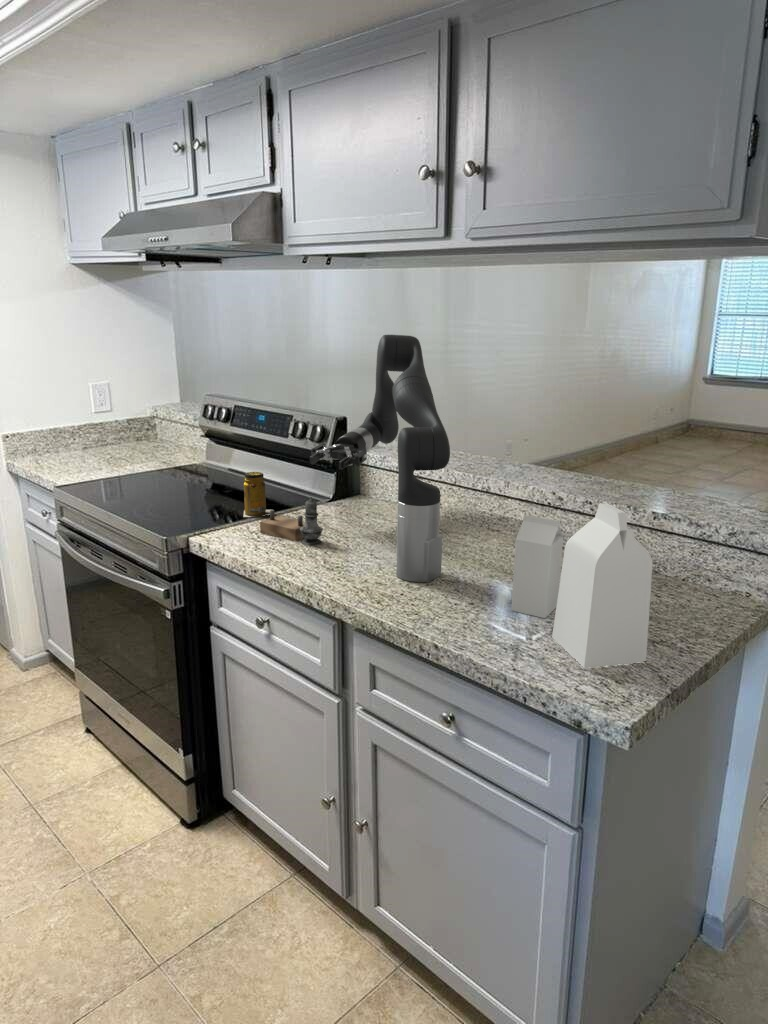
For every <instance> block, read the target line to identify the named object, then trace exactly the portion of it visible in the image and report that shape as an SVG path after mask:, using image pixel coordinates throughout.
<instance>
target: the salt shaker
mask: <svg viewBox="0 0 768 1024" xmlns="http://www.w3.org/2000/svg"><path fill="white" fill-rule="evenodd" d="M304 505H305V508H304V509H305V513H303V515H304V522H305V526H303V527H301V528H300V531H301V534H302V536H303V537H304V539H302V540H301V541H300V543H301V545H304V546H318V545H321V544H322V543H323V542H322V540H321V539H320V537H321V535H322V532H323V530H324V528H323V527H322V526H320V525H319V523H318V516H319V513H318V505H317V501H316V500H313V497H312V496H310V497H309V499H308V500H306V501H305V504H304Z"/></svg>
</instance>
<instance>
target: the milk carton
mask: <svg viewBox="0 0 768 1024" xmlns="http://www.w3.org/2000/svg"><path fill="white" fill-rule="evenodd" d="M563 545H564V534H563V532H562V530H561V527H560V520H557V519H551V518H544V517H539V516H534V515H527V514H524V515H523V521H522V524H521V525H520V527H519V530H518V532H517V535H516V537H515V548H514V549H515V550H514V562H513V563H514V565H513V579H512V582H513V583H512V592H511V593H512V594H511V606H510V608H511V609H510V610H511V611H512V612H516V613H520V614H521V613H522V614H525V615H529V616H533V617H538V618H541V619H546V618H547V617H548V616H549V615H550V614H551V613H552V612H553V611H554V610H556V606H557V599H558V592H559V585H560V578H561V571H562V560H563V559H562V556H563V548H564V547H563Z"/></svg>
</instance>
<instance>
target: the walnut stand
mask: <svg viewBox="0 0 768 1024" xmlns="http://www.w3.org/2000/svg"><path fill="white" fill-rule="evenodd" d="M269 510H270V516H269V518H267V519H263V520H261V521H259V526H260V527H259V528H260V529H259V532H260V534H264V535H268V536H273V537H278V538H282V539H287V540H289V541H295V542H296V541H299V540H301V539H302V540H303V538H304V537H303V536H302V534H301V531H300V528H301V527H303V526H305V520H304V518H303V515H298V516H297V519H295V518H290V517H285V516H280V515H277V516H275V510H274V509H269ZM303 520H304V521H303ZM304 539H305V538H304Z"/></svg>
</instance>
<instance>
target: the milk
mask: <svg viewBox="0 0 768 1024" xmlns="http://www.w3.org/2000/svg"><path fill="white" fill-rule="evenodd" d="M635 537H636V534H635V533H634V532H633V531H632V530H631V528H629V527H628V521H627V516H626V512H625V511H623V510H621V509H619V508H617V507H615V506H613V505H611V504H609V503H607V502H605V503H599V504H598V506H597V510H596V513H595V516H594V517H593V518H592V519H590V521H589V522H587V523H586V524H585V525H584V526H582V527H581V528H580V529H579V530H578V531H577V532H575V533H574V534H573V535H572V536H571V537H570V538H569V539H568V540H567V542H566V544H565V546H564V552H563V559H562V564H561V570H560V582H559V592H558V599H557V606H556V608H555V615H554V621H553V629H552V634H551V639H552V638H553V639H554V640H555V641H556V642H557V643H558V644H559V645H561V646H562V647H563V648H564V649H565V651H567V652H568V653H569V654H570V655H571V656H572V657H573V658H575V659H576V661H578V662H579V663H580V664H581V665H582V666H583V667H584V668H588V667H597V666H606V665H618V664H628V663H636V662H643V661H646V662H647V654H648V653H647V651H648V637H649V636H648V635H649V621H650V609H651V606H650V605H651V590H652V578H653V559H652V556H651V555H650V552H649V551H648V550H647V549H646V548H645V547H644V546H643V545H642V544H641V543H640V542H639V540H637V539H636V538H635ZM553 639H552V640H553ZM554 640H553V641H554ZM555 641H554V642H555ZM556 642H555V643H556ZM557 643H556V644H557ZM558 644H557V645H558ZM559 645H558V646H559ZM565 651H564V652H565Z"/></svg>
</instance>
